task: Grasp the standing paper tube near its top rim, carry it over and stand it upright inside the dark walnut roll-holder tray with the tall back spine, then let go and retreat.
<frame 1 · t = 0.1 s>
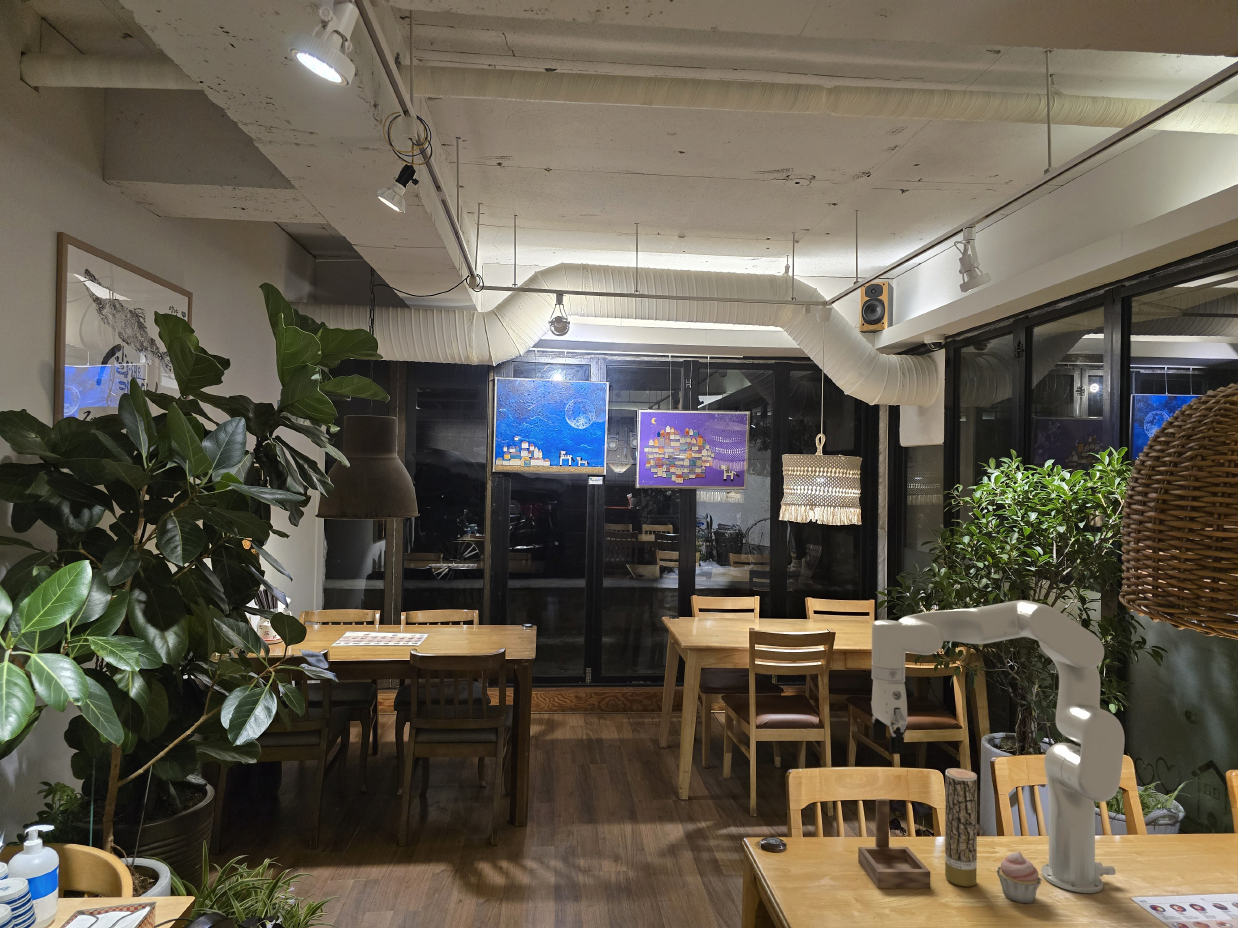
hand: (887, 746, 180), 31 cm above the table, fingers open, 9 cm apart
paper tube: (960, 881, 180), on the table
cupcake: (1018, 897, 173), on the table
holder: (893, 874, 182), on the table
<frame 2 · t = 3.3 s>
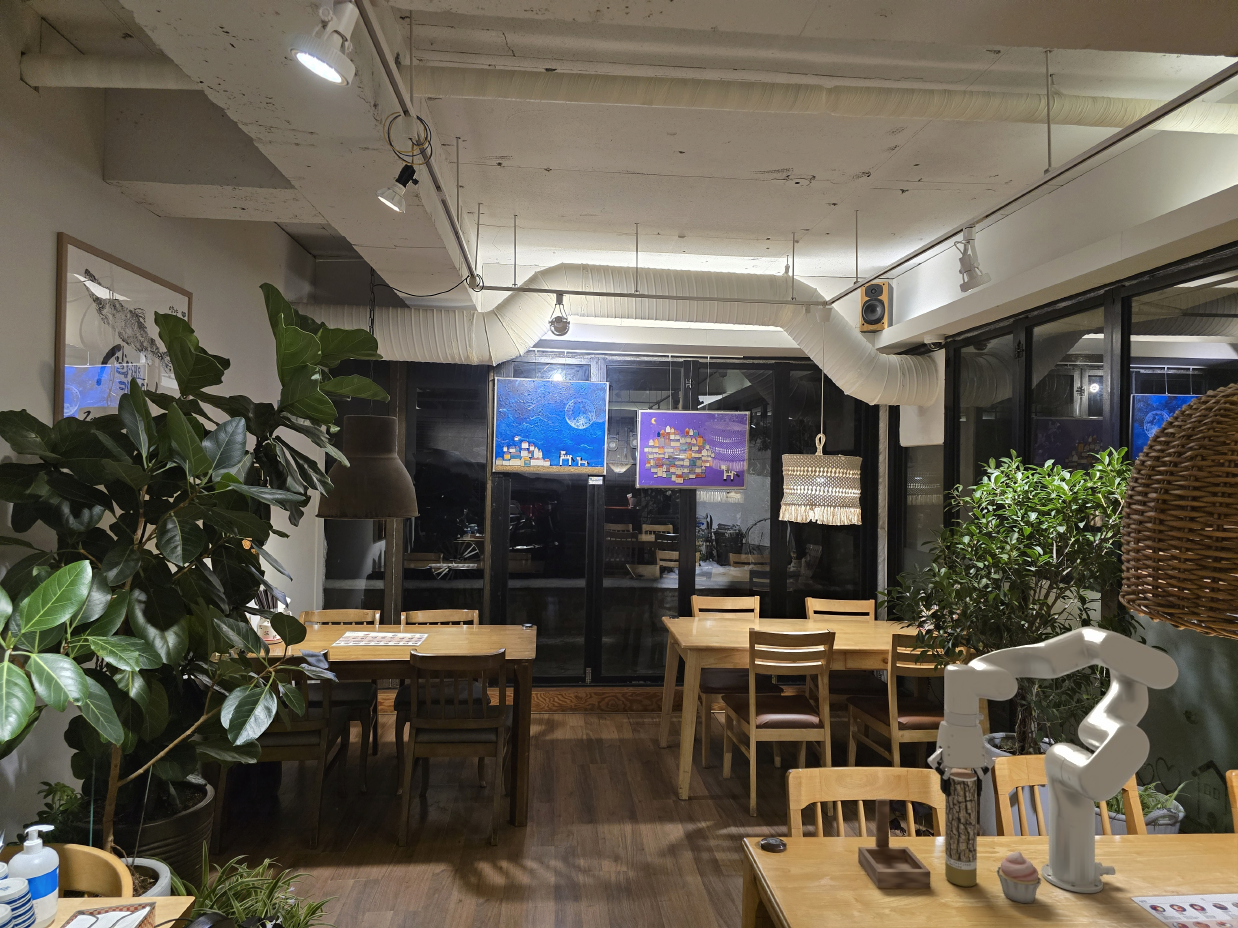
hand: (961, 793, 181), 20 cm above the table, fingers closed on paper tube, 6 cm apart
paper tube: (960, 881, 180), on the table, touching gripper
everything else where it was.
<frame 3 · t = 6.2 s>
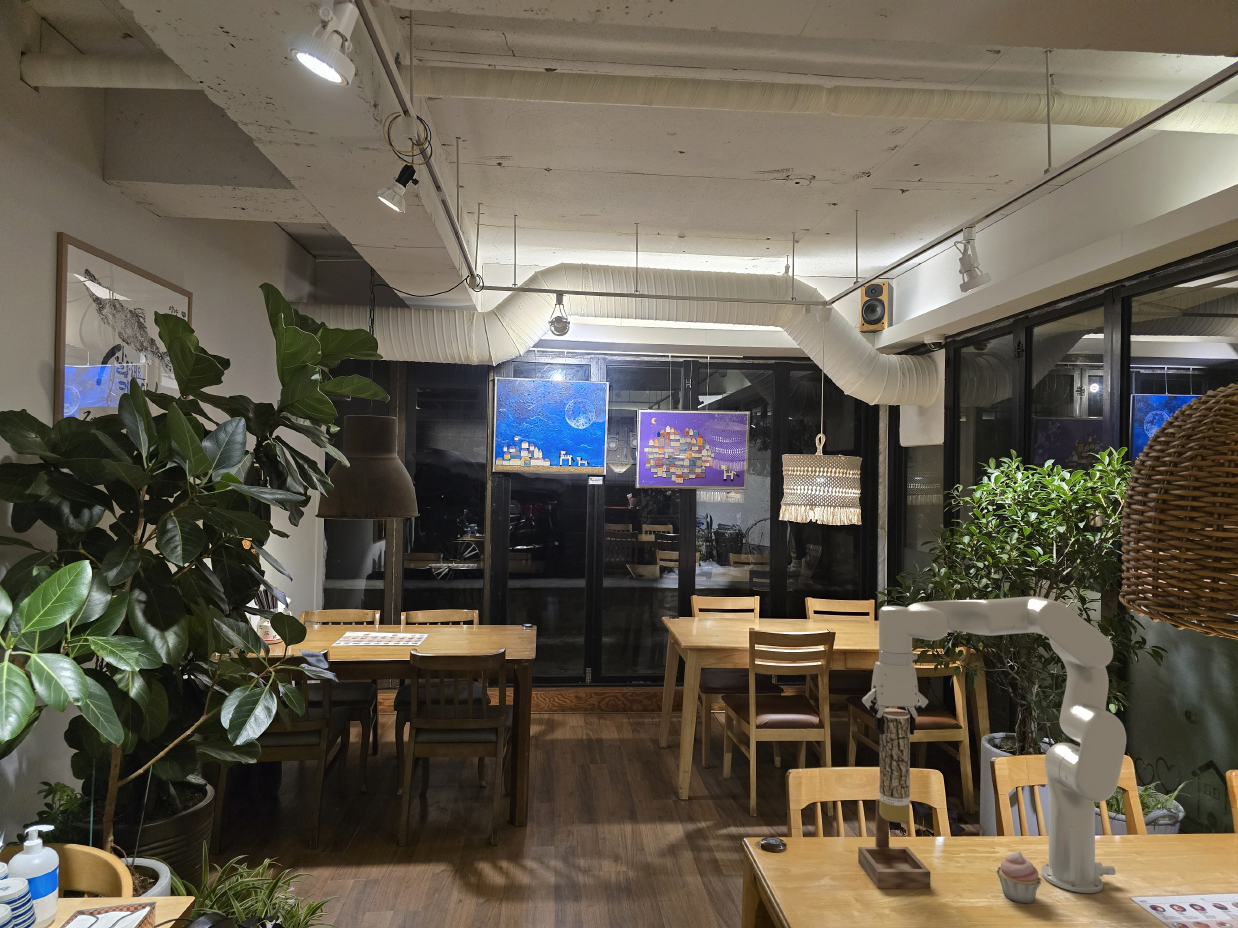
hand: (894, 732, 183), 34 cm above the table, fingers closed on paper tube, 6 cm apart
paper tube: (894, 818, 183), point 13 cm above the table, touching gripper
everything else where it was.
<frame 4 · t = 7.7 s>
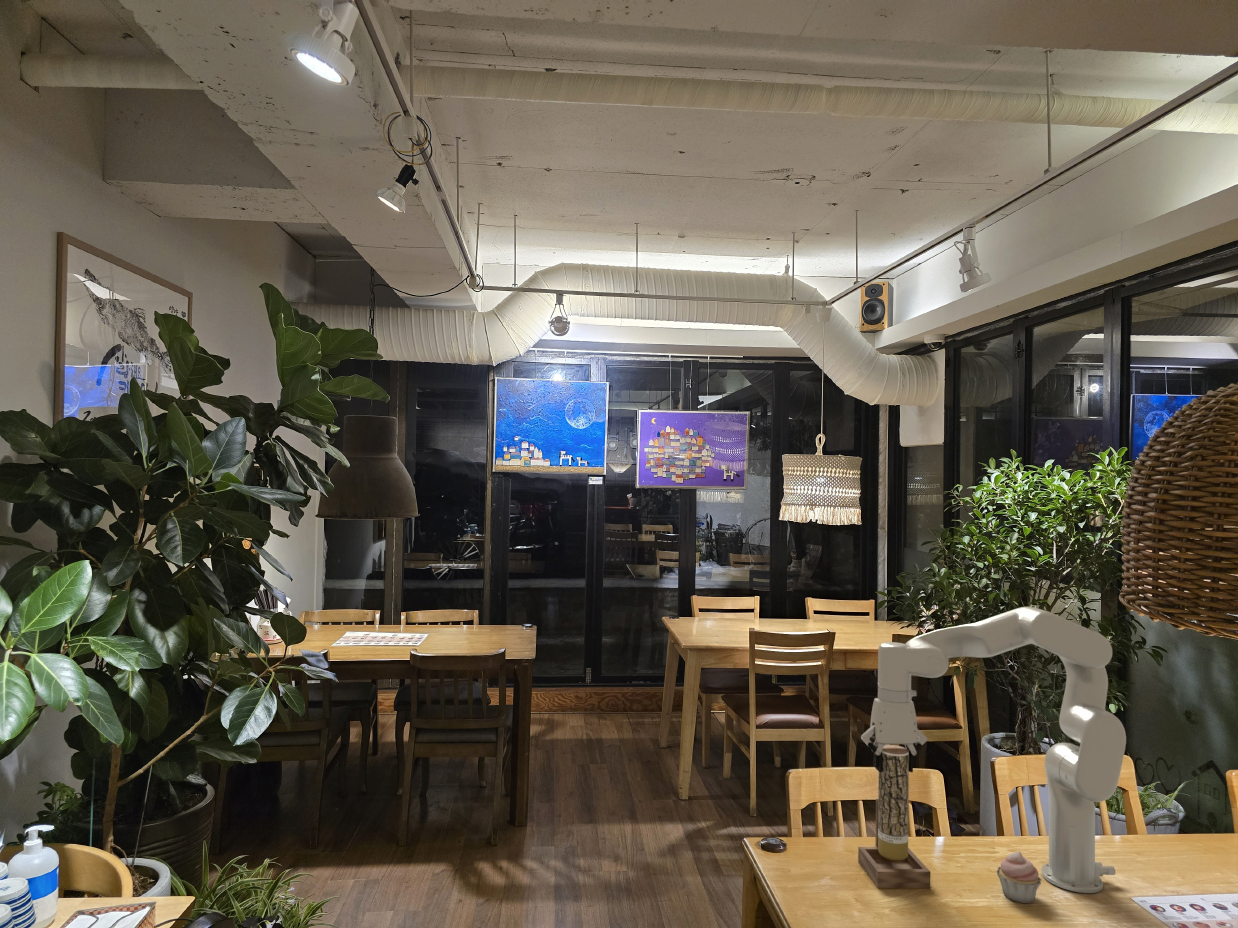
hand: (893, 769, 183), 25 cm above the table, fingers closed on paper tube, 6 cm apart
paper tube: (892, 855, 182), point 4 cm above the table, touching gripper
everything else where it was.
when the fingers open (23 cm above the table, at t = 9.0 s): paper tube drops 2 cm, resting on holder.
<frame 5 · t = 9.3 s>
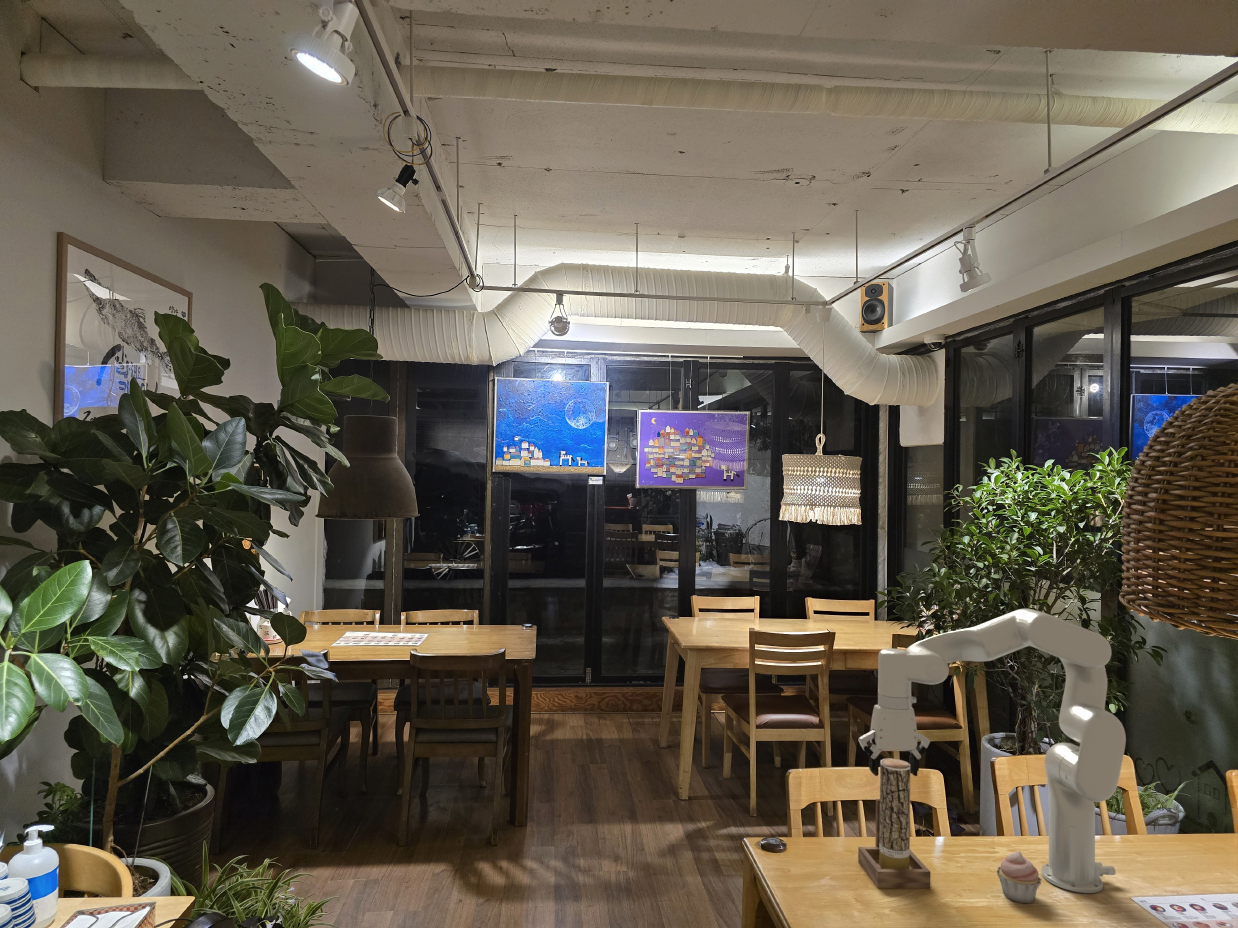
hand: (893, 773, 183), 24 cm above the table, fingers open, 9 cm apart
paper tube: (894, 869, 182), point 1 cm above the table, touching holder
everything else where it was.
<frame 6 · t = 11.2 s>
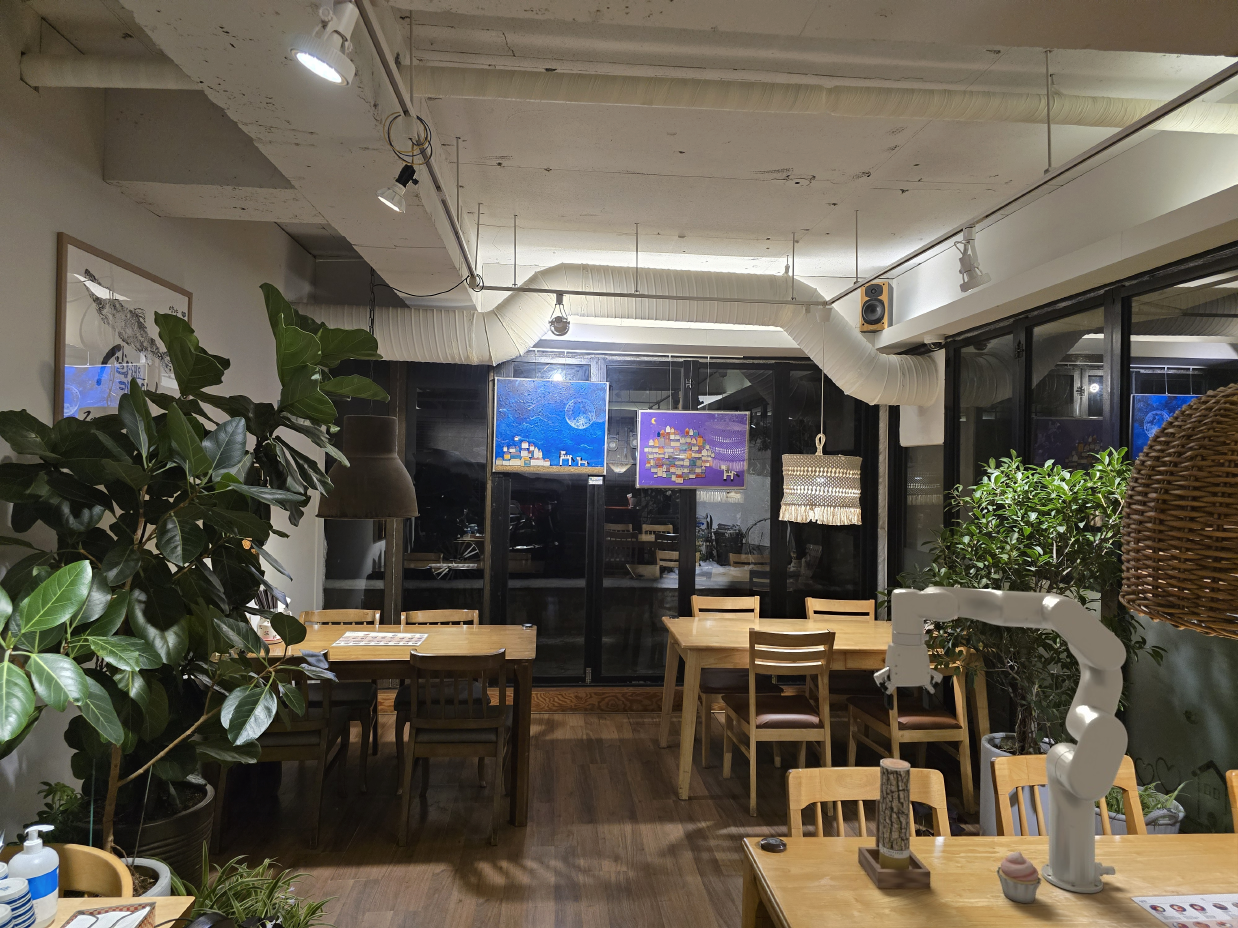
hand: (908, 708, 189), 38 cm above the table, fingers open, 9 cm apart
nothing on the table moved.
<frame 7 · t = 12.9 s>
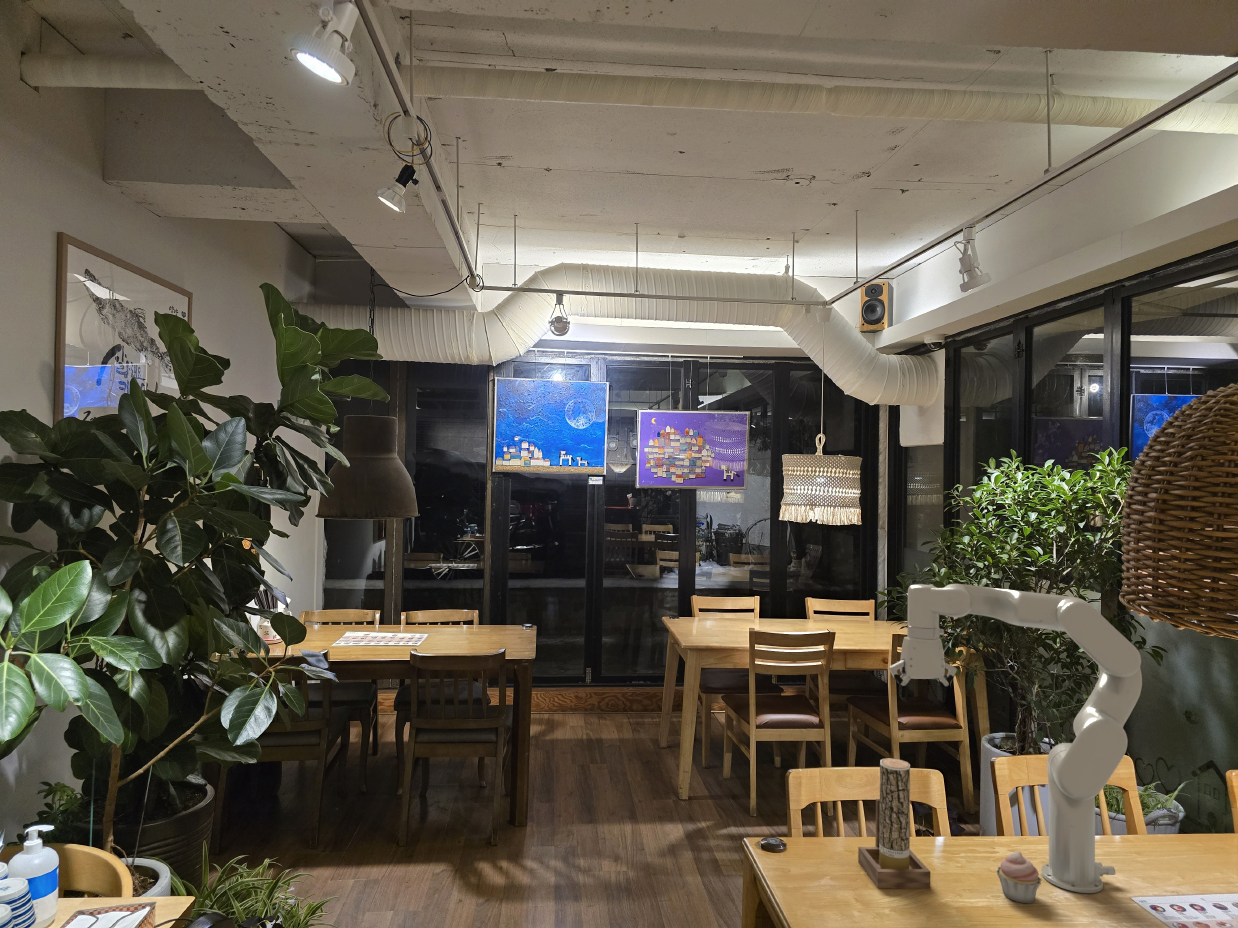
hand: (922, 700, 195), 38 cm above the table, fingers open, 9 cm apart
nothing on the table moved.
at the end: paper tube inside the target area on the holder (0.3 cm from its centre), point 1.0 cm above the holder's base; paper tube tilted 0°; the gripper is holding nothing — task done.
